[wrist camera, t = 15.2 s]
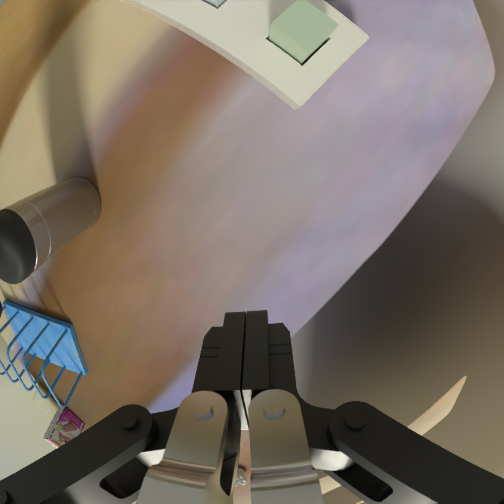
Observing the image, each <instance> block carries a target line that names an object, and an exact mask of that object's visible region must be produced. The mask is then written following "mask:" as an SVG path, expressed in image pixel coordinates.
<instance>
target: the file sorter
mask: <svg viewBox="0 0 504 504" xmlns="http://www.w3.org/2000/svg"><path fill="white" fill-rule="evenodd" d="M3 306H4V307H3V308H2V311H3V310H4V309H5V311H6V314H7V317H8V319H9V320H8V322H7V323H6V324H5V325H4V326H3V327H2V328H1V329H0V333H1V332H2V331H3V330H4V329H5V328H6V327H7V325H8V324H9V323H10V324H11V327H12V329H13V332H14V334H15V337H14V339H13V340H12V341H11V343H10V344H9V346H8V348H7V359H8V361H9V363H10V364H9V365H8V367H7V369H5V367H4V365H3V364H2V362H1V360H0V364H1V366H2V368H3V369H4V372H3V373H0V375H4V374H5V373H6V375H7V376H8V378H9V379H10V381H12V382H14V383H15V382H17V381H18V380H20V382H21V383H22V385H23V386H24V388H25V389H26V390H28V391H30V390H32V389H33V388H34V387H35V388H36V390H37V392H38V393H39V395H40V396H41V397H42V398H43V399H46V398H48V397H49V395H50V394H51V393H52V395H53V397H54V398H55V400H56V401H57V403H58V405H59V406H60V407H65V406H66V405H67V404H68V402H69V400H70V398H71V396H72V394H73V392H74V390H75V388H76V386H77V384H78V382H79V380H80V378H81V376H82V374H83V375H86V374H87V372H88V371H87V368H86V365H85V363H84V360H83V357H82V354H81V351H80V348H79V345H78V342H77V339H76V336H75V332H74V329H73V325H72V324H70V323H67V322H64V321H61V320H58V319H55V318H52V317H49V316H46V315H44V314H41V313H38V312H35V311H33V310H30V309H27V308H25V307H22V306H20V305H17V304H15V303H12V302H10V301H7V300H5V301H4V302H3ZM16 339H17V341H18V343H19V345H20V347H21V349H20V350H19V351H18V353H17V354H16V355H15V357H14V359H13V360H12V361H11V360H10V357H9V350H10V347H11V346H12V345H13V343H14V342H15V341H16ZM22 350H25V351H26V352H25V353H24V356H23V361H22V362H23V367H24V369H23V370H22V372H21V373H20V375H19V374H18V373H17V371H16V369H15V367H14V366H13V364H12V363H13V362H14V361H15V359H16V358H17V356H18V355H19V354H20V352H21V351H22ZM28 352H29V353H31V354H33V356H32V357H31V359H30V360H29V362H28V363H27V365H25V358H26V356H27V354H28ZM35 356H37V357H40V358H42V359H44V362H43V364H42V369H41V372H40V373H39V375H38V377H37V378H36V380H35V381H33V379H32V377H31V375H30V373H29V372H28V370H27V367H28V366H29V364H30V363H31V361H32V360H33V358H34V357H35ZM49 362H51V363H53V364H56V365H58V366H61V367H63V368H62V370H61V372H60V373H59V375H58V377H57V378H56V380H55V382H54V383H53V385H52V387H51V386H50V385H49V383H48V381H47V379H46V377H45V374H44V370H45V368H46V367H47V365H48V364H49ZM10 366H12V368H13V370H14V372H15V373H16V375H17V377H18V378H17V379H16V380H12V379H11V377H10V376H9V374H8V372H7V371H8V369H9V368H10ZM65 368H66V369H69V370H71V371H74V372H77V373H80V374H79V376H78V378H77V380H76V382H75V384H74V386H73V388H72V390H71V392H70V394H69V396H68V398H67V400H66V402H65V404H63V405H61V403H60V402H59V400H58V399H57V397H56V395H55V394H54V392H53V388H54V387H55V385H56V383H57V381H58V380H59V378H60V376H61V374H62V373H63V371H64V369H65ZM25 371H26V373H27V375H28V377H29V378H30V380H31V382H32V384H33V385H32V386H31V388H29V389H28V388H27V387H26V386H25V384H24V383H23V381H22V380H21V376H22V375H23V373H24V372H25ZM41 375H42V377H43V379H44V381H45V383H46V384H47V386H48V388H49V392H48V394H47V395H46V396H42V394H41V392H40V391H39V389H38V388H37V386H36V383H37V381H38V380H39V378H40V376H41Z"/></svg>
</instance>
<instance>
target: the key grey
mask: <svg viewBox="0 0 504 504" xmlns="http://www.w3.org/2000/svg"><path fill="white" fill-rule="evenodd" d="M202 1H204V2H206V3H208V4H210V5H212V6H214V7H215V8H217V9H218V8H219V7H220V6H221V5H222V4H223V3H225V2H226V1H227V0H202Z"/></svg>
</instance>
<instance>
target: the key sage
mask: <svg viewBox="0 0 504 504" xmlns="http://www.w3.org/2000/svg"><path fill="white" fill-rule="evenodd" d="M338 25H339V24H337V23H336V22H335V21H334V20H332V19H331V18H330V17H328V16H327V15H326V14H325V13H323V12H322V11H320V10H319V9H318V8H316V7H315V6H314V5H312V4H311V3H309V2H308V1H306V0H297V1H296V2H295V3H293V4H292V5H291V6H290V7H289V8H288V9H286V10H285V11H284V12H283V13H282V14H281V15H280V16H278V17H277V18H276V19H275V20H274V21H273V22H272V23H271V26H270V34H269V41H270V42H271V43H273V44H274V45H275V46H277V47H278V48H280V49H281V50H282V51H284V52H285V53H286V54H288V55H289V56H290V57H292V58H293V59H294V60H295V61H297V62H298V63H299V64H301V65H303V64H304V63H305V62H306V61H307V60H308V59H309V58H310V57H311V56H312V55H313V54H314V53H315V52H316V51H317V50H318V49H319V48H320V47H321V46H322V44H323V43H324V42H325V41H326V40H327V38H328V37H329V36H330V35H331V34H332V32H333V31H334V30H335V29H336V28H337V27H338Z"/></svg>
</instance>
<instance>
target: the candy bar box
mask: <svg viewBox="0 0 504 504" xmlns="http://www.w3.org/2000/svg"><path fill="white" fill-rule="evenodd" d="M84 425H85V423H83V422H82V421H81V420H80V419H79V418H78V417H76V416H75V415H74V414H73V413H72V412H71V411H70V410H69V409H68V408H67V407H60V406H59V408H58V410H57V412H56V413H55V415H54V417H53V419H52V421H51V423H50V426H49V427H48V429H47V431H46V433H45V435H44V439H45V440H47V441H48V442H49V443H50V444H52V445H53V446H54V447H55V448H58V447H60V446H62V445H63V444H65V443H67V442H68V441H70V440H71V439H73V438H75V437H76V436H78V435H79V434H81V432H82V430H83V428H84Z"/></svg>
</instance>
